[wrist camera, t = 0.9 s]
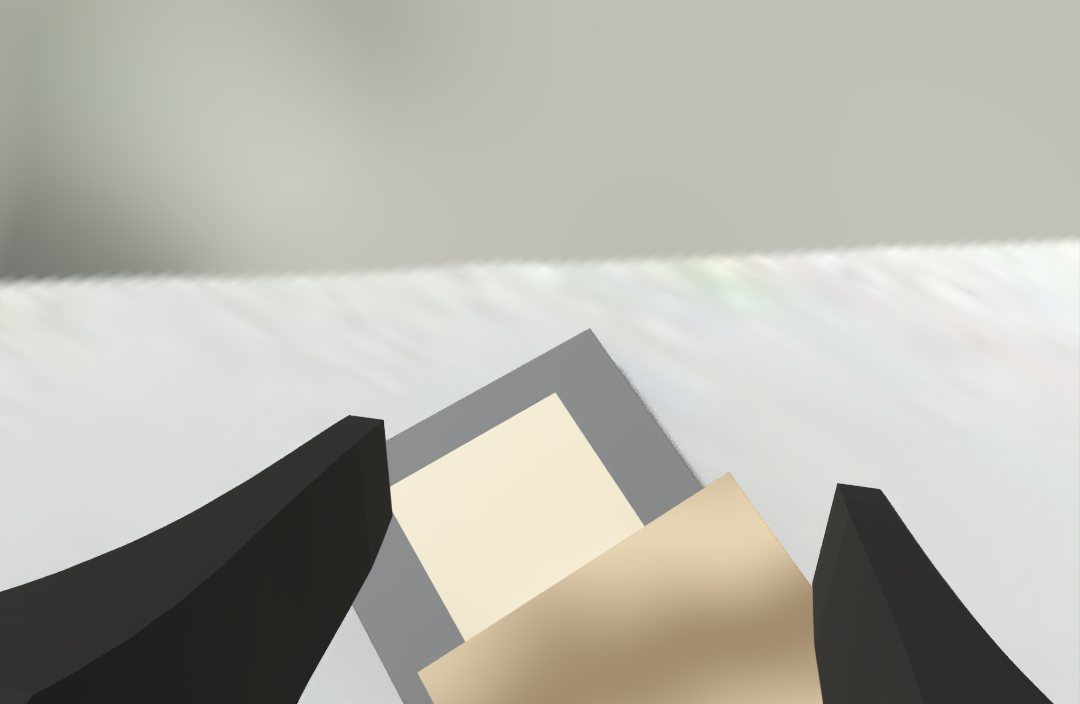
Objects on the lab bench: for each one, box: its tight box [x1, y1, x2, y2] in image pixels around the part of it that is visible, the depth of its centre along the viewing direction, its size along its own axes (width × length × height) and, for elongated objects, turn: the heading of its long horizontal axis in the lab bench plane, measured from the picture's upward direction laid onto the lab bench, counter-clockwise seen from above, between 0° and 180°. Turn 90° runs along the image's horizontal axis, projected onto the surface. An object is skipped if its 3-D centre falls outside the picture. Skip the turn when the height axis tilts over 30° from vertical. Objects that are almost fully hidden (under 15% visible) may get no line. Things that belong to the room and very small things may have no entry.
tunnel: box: [418, 472, 823, 704], centre depth 23 cm, size 7×10×5 cm
